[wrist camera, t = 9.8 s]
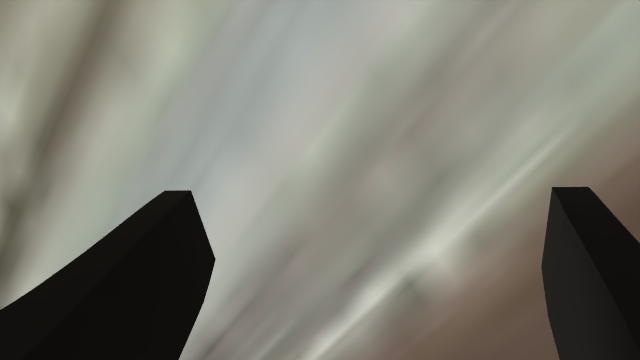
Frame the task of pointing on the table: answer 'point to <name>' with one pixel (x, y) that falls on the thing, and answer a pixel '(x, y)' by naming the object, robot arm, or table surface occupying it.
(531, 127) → the table surface
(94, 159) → the table surface
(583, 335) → the robot arm
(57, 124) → the table surface
